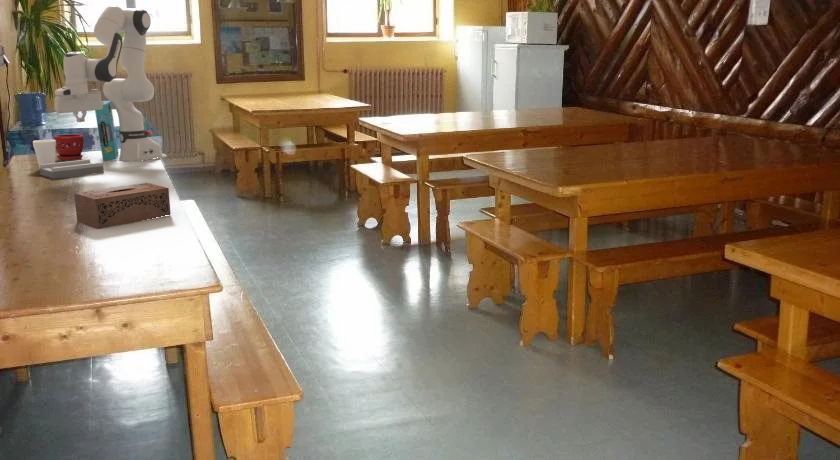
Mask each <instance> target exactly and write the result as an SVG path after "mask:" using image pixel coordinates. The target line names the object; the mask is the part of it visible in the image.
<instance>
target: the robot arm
mask: <svg viewBox="0 0 840 460" xmlns="http://www.w3.org/2000/svg"><path fill="white" fill-rule="evenodd" d="M151 23H152V22H151V16H150V14H149V13H148V12H147V10H146V9H145V10H144V9H141V8H133V7H131V8H130V7H125V8H121V7H120V6H117V5H109V6H107V7H106V8H105V9H104V10H103V11H102V13H101V14H100V16H99V18H98V19H97V21H96V23H95V25H94V28H93V33H94V36H95V38H96V39H97V40H98V41H99V42H100V43H101V44H102V45H104V46H107V50H106V54H105V56H104V57H102V58H88V57H85V56H84V55H83V54H84V53H83V52H81V51H69V52H67V53H65V54H63V62H62V63H63V65H62V66H63V74H64V76H65V85H64V86H63V87H61V88H57V89H56V90H54V95H55V96H54V100H53V104H54V107H53V108H54V112H55V113H57V114H67V113H72V115H73V116H74V117H75V119H76V122H77V123H82V122H84V123H85V121H86V120H85V119H86V116H87V114H88V113H87V111H88V112H91V111H95V110H102V108H103V104H102V101H103V99H102V94H103V96H104V97H105V98H106V99H107V100H108V101H111V105H113V107H114V109H115V110H116V113H117V116H118V123H119V131H118V133H119V135H118V137H119V142H120V150H119V151H120V152H119V159H118V160H119V161H123V162H124V161H125V162H143V161H142V160H147V161H149V160H148V159H153V158H157V157H158V158H159V159H165V158H168V156H167V154H165V153H163V152H162V148H161V145H160V144H159V143H158V142H156V141H155V140H153V139H152V138H151V137H149V136H151V135H152V133H153V131H151V130H146V129H145V127H144V117H143V116H144V115H143V113H142V112H141V111H140V110H138V109H137V108H136V107H135V106H134V104H133V102H134V103H141V102H142V103H143V102H147V101H151V100H152V99H153V97H154V96H155V95H154V94H155V86H154V84H153V83H152V82H151V81H150V80H149V79H148V77H147V75H146V71H145V64H146V63H145V62H146V61H145V60H146V54H147V53H146V51H147V38H146V37H147V36H146V33H147V31H148V30H149V28H150V26H151ZM121 33H124V36H123V37H122V35H121ZM118 64H119V65H120V67H121V69H123V70H124V71H126V72H127V73H126V74H127V78H115V77H116V76H117V71H118ZM88 81H89V82H101V83H102V82H103V87H102V91H101V90H100V89H98V88H91V89H90V88H89V86H88ZM102 92H103V93H102ZM79 112H80V113H81V114H82V115H81V117H79ZM153 160H154V159H153Z"/></svg>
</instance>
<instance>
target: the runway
mask: <svg viewBox="0 0 840 460" xmlns="http://www.w3.org/2000/svg"><path fill="white" fill-rule="evenodd" d="M54 167H57V168H54ZM104 171H105V170H104V162H103V161H102V162H95V163H92V162H91V159H90V158H89V159H87V158H86V159H78V160H68V161H60V162H55V163H51V164H42V165H40V168H39V172H40V176H43V177H47V178H49V179H52V180H53V179H54V180H57V179H63V178H64V179H65V178H70V177H71V178H72V177H73V178H74V177H79V176H87V175H95V174H103V173H105V172H104Z"/></svg>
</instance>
